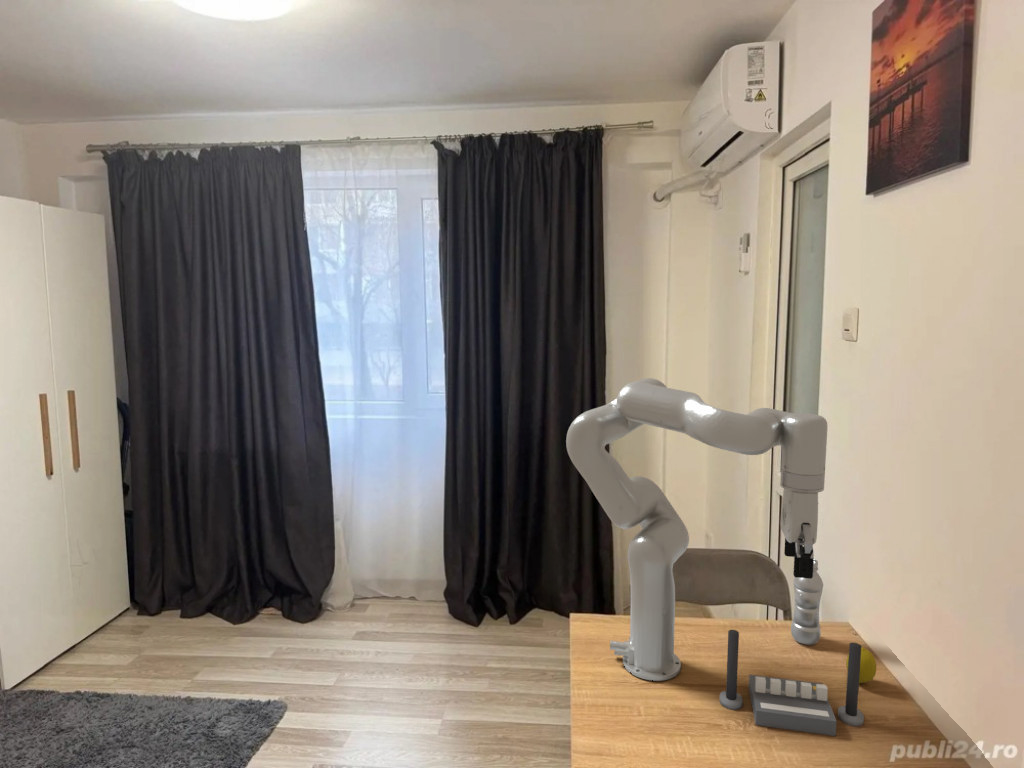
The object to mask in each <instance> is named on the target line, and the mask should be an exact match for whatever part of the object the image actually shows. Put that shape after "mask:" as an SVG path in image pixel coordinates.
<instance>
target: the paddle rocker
mask: <svg viewBox="0 0 1024 768" xmlns="http://www.w3.org/2000/svg"><path fill="white" fill-rule="evenodd" d="M755 691H756V692H760V693H765V692H766V693H771V694H775V695H786V696H791V697H796V696H797V697H801V698H806V699H811V698H813V699H817V700H822V701H827V698H828V692H829V691H828V686H827V684H823V683H822V684H816V695H812V685H811V683H805V682H801V688H800V693H796V682H795V681H789V680H786V681H785V691H781V681H780V679H773V678H770V689H766V679H765V677H756V676H755Z"/></svg>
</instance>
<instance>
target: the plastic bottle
mask: <svg viewBox="0 0 1024 768" xmlns="http://www.w3.org/2000/svg"><path fill="white" fill-rule="evenodd" d="M818 565H819V561H818V560H816V559H815V558H814V563H813V577H812V578H811V579H809V578H798V577H794V576H793V577H794V578H793V590H794V612H793V617H792V618H793V619H792V621H791V625H790V632H791V636H792V638H793V639H794V640H795V641H796V642H797V643H800V644H803V645H808V646H813V645H816V644H817V643H818V642H819V641H820V639H821V625H820V604H821V599H822V593H823V589H824V582H823V580H822V577H821V575H820V574H819V573H818V570H819V567H818Z"/></svg>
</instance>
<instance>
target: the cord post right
mask: <svg viewBox="0 0 1024 768" xmlns="http://www.w3.org/2000/svg"><path fill="white" fill-rule="evenodd" d="M861 647H862V645H861V644H860V643H858V642H857V643H856V642H850V643H849V648H848V654H849V660H848V670H847V675H846V676H847V677H846V691H845V705H841V706H839V707H838V711H837V717H838V719H839V720H840V721H841V722H842V723H844V724H846V725H848V726H851V727H852V726H853V727H860V726H863V725H864V720H865V715H864V713H863V712H862V711H861V710H859V709H858V703H859V687H860V683H859V675H860V660H861Z"/></svg>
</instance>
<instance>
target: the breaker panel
mask: <svg viewBox="0 0 1024 768" xmlns="http://www.w3.org/2000/svg"><path fill="white" fill-rule="evenodd" d="M755 676H756V677H765V679H766V689H770V678H773V679H780V681H781V691H785V681H786V680H789V681H795V682H796V693H800V688H801V682H805V683H811V685H812V695H816V684H822V685H823V683H821V682H816V681H815V682H812V681H804V680H797V679H790V678H781V677H775V676H774V677H773V676H766V675H765V676H763V675H756V674H748V691H749V697H750V698H749V699H750V702H751V707H752V713H753V719H754V723H755V726H760V727H767V728H774V729H775V728H776V729H782V730H788V731H789V730H790V731H797V732H801V733H802V732H804V733H811V734H816V735H817V734H818V735H826V736H833V737H836V734H837V718H836V716H835V713H834V711H833V708H832V706H831V703H830V701H829V698H828V697H827V701H822V700H817V699H813V698H811V699H806V698H801V697H797V696H796V697H791V696H786V695H775V694H771V693H766V692H765V693H760V692H756V691H755Z"/></svg>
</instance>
